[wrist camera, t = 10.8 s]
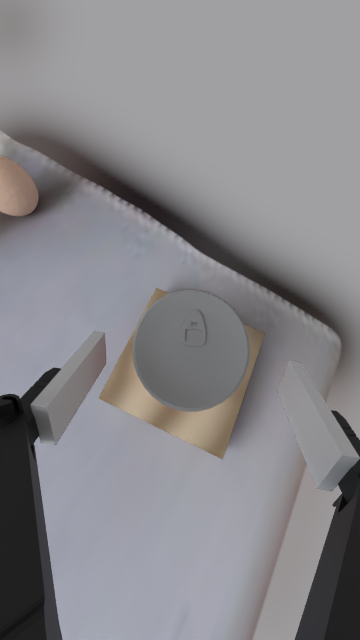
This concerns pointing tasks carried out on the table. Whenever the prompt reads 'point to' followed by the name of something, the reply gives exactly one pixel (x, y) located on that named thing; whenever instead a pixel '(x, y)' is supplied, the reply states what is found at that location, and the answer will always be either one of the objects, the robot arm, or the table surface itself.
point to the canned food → (191, 350)
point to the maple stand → (192, 427)
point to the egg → (16, 189)
